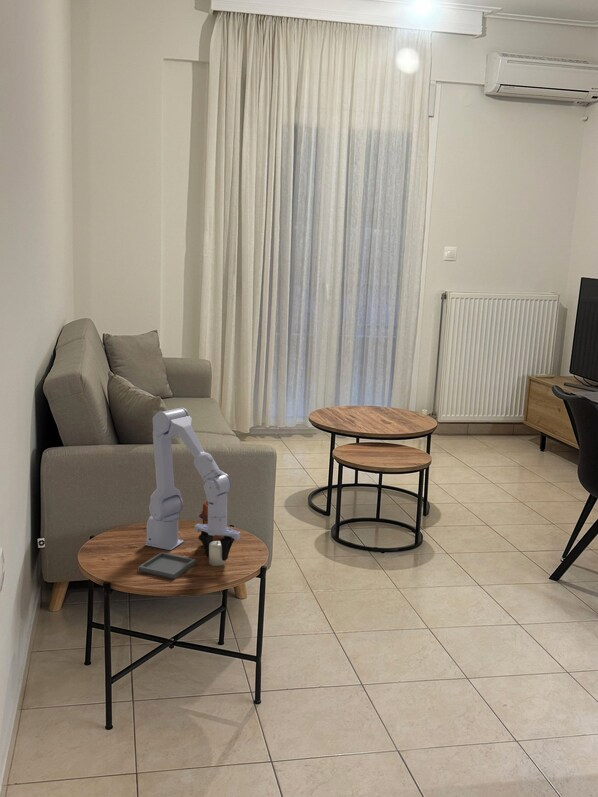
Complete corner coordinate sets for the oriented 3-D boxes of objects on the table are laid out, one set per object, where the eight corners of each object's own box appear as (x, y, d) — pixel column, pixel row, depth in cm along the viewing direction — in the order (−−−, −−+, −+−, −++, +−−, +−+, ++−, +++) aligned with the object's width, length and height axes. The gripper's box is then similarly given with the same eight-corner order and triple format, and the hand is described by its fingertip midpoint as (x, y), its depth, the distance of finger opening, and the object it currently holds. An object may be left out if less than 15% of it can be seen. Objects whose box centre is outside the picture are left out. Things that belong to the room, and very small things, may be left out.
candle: (206, 564, 240) (206, 542, 238) (214, 558, 244) (214, 537, 243) (220, 567, 238) (220, 545, 237) (228, 561, 242) (228, 540, 241)
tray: (138, 571, 233) (138, 566, 233) (161, 556, 244) (161, 551, 244) (173, 579, 229) (173, 574, 228) (195, 564, 239) (195, 559, 239)
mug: (220, 553, 248) (221, 507, 245) (195, 550, 250) (195, 504, 247) (234, 536, 262) (234, 492, 259) (210, 533, 264) (210, 489, 261)
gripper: (189, 514, 237) (189, 557, 240) (232, 523, 232) (232, 567, 234) (201, 507, 244) (201, 549, 246) (244, 515, 238) (243, 558, 241)
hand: (217, 557), depth 241 cm, fingers closed on candle, 5 cm apart
